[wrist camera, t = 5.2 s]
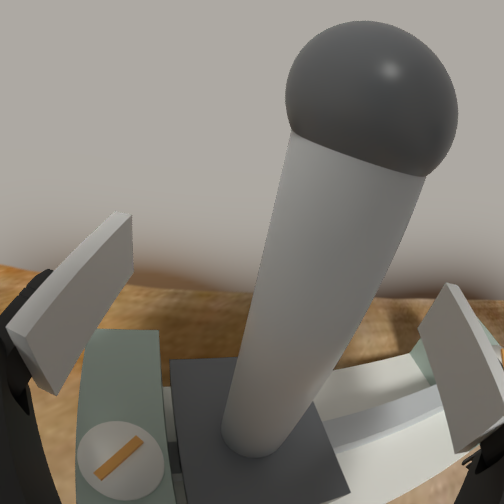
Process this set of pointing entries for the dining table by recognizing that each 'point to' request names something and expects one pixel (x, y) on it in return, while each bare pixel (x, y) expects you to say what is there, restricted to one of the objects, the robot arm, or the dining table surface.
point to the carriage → (316, 265)
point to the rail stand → (326, 401)
